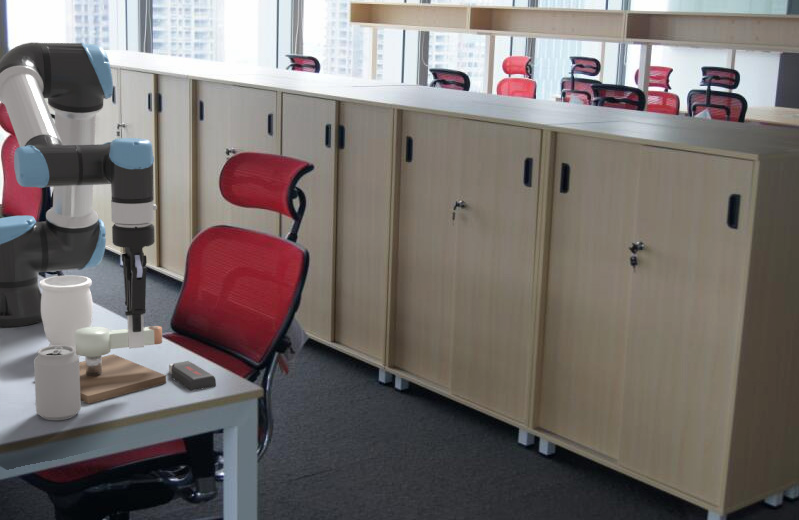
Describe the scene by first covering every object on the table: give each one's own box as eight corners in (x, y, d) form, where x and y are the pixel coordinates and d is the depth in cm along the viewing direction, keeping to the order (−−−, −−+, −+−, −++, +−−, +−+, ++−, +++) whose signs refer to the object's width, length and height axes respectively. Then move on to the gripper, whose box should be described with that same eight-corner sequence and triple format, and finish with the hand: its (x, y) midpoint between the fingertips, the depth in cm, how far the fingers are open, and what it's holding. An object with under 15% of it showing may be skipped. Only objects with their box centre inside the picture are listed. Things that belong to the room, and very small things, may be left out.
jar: (78, 359, 216) (76, 288, 212) (32, 354, 218) (29, 284, 214) (103, 344, 226) (101, 276, 223) (58, 340, 228) (56, 272, 225)
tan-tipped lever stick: (79, 358, 198) (78, 337, 197) (73, 348, 203) (72, 328, 202) (166, 348, 205) (165, 329, 204) (158, 339, 210) (157, 320, 210)
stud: (82, 373, 203) (82, 352, 202) (96, 370, 205) (95, 349, 204) (91, 377, 201) (90, 356, 200) (105, 373, 203) (104, 353, 202)
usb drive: (191, 392, 200) (191, 378, 199) (164, 374, 209) (164, 361, 209) (216, 387, 203) (215, 373, 202) (188, 370, 212) (188, 357, 212)
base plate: (37, 379, 203) (36, 372, 202) (113, 361, 215) (113, 354, 215) (88, 403, 191) (88, 396, 191) (166, 382, 204) (165, 375, 203)
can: (29, 421, 182) (26, 355, 180) (45, 405, 190) (43, 342, 187) (72, 423, 182) (69, 357, 179) (86, 407, 189) (84, 344, 187)
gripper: (160, 229, 188) (162, 355, 193) (147, 216, 200) (150, 335, 205) (117, 231, 185) (120, 358, 190) (107, 218, 197) (110, 338, 202)
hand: (136, 346), depth 198 cm, fingers closed
